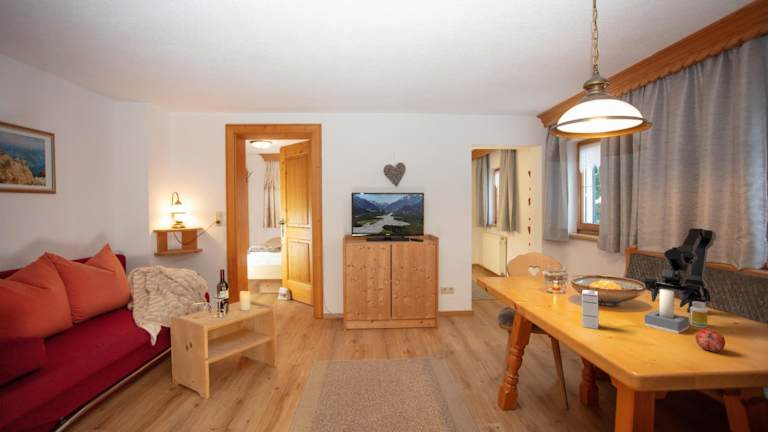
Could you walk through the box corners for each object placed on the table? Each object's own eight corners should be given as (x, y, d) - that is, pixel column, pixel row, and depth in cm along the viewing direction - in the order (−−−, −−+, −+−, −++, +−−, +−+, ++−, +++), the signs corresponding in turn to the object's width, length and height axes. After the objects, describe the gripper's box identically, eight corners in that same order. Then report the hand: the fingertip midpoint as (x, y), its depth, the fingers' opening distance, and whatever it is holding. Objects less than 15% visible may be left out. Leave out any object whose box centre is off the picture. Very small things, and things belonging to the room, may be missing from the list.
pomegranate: (695, 350, 122) (688, 338, 117) (703, 332, 123) (696, 320, 118) (723, 360, 115) (717, 348, 111) (731, 342, 117) (725, 329, 112)
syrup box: (598, 329, 137) (598, 294, 136) (581, 326, 140) (581, 292, 139) (598, 325, 141) (598, 291, 141) (582, 322, 145) (582, 289, 144)
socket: (655, 320, 147) (656, 310, 146) (688, 328, 137) (688, 317, 137) (644, 325, 141) (644, 314, 141) (678, 333, 131) (678, 322, 131)
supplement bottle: (710, 328, 137) (711, 304, 137) (695, 327, 138) (695, 304, 138) (701, 323, 142) (701, 300, 142) (686, 322, 143) (686, 300, 143)
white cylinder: (657, 321, 142) (657, 288, 142) (670, 323, 140) (671, 289, 140) (662, 325, 138) (662, 291, 137) (676, 326, 136) (676, 292, 136)
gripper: (645, 259, 149) (633, 287, 143) (701, 265, 133) (690, 297, 127) (653, 274, 153) (641, 302, 148) (708, 282, 137) (698, 314, 132)
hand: (666, 303), depth 138 cm, fingers open, 9 cm apart
